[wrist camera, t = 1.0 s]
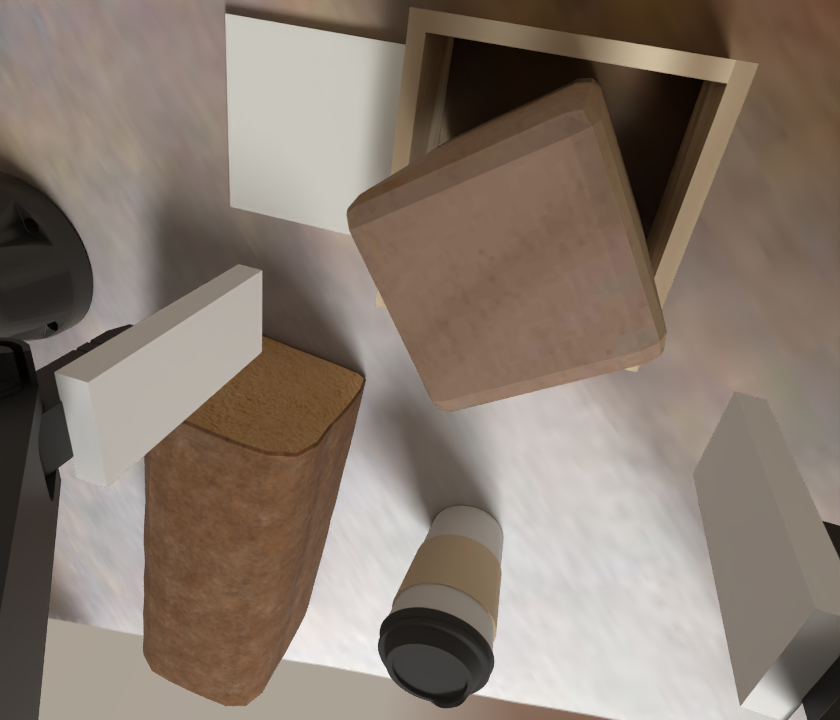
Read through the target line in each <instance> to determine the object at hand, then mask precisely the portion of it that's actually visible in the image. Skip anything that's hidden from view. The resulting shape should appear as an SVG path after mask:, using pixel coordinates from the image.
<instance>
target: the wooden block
mask: <svg viewBox="0 0 840 720" xmlns="http://www.w3.org/2000/svg"><path fill="white" fill-rule="evenodd" d="M346 215H347V221H348V227H349V231H350V233H351V235H352V237H353V239H354V241H355V243H356V245H357V248H358V250H359V252H360V254H361V256H362V258H363V260H364V262H365V264H366V266H367V268H368V270H369V272H370V274H371V276H372V278H373V280H374V282H375V285H376V287H377V289H378V291H379V293H380V295H381V297H382V299H383V301H384V303H385V305H386V307H387V309H388V311H389V313H390V315H391V317H392V320H393V322H394V324H395V326H396V328H397V330H398V332H399V334H400V336H401V338H402V340H403V342H404V344H405V346H406V348H407V350H408V352H409V354H410V357H411V359H412V361H413V363H414V365H415V367H416V369H417V371H418V373H419V375H420V377H421V379H422V381H423V383H424V385H425V387H426V389H427V392H428V394H429V396H430V398H431V400H432V402H433V403H434V404H435V405H436V406H437V407H438V408H439V409H440V410H445V411H456V410H460V409H464V408H468V407H473V406H477V405H481V404H485V403H489V402H493V401H497V400H501V399H505V398H509V397H513V396H517V395H521V394H525V393H529V392H533V391H537V390H541V389H546V388H550V387H554V386H558V385H562V384H566V383H570V382H574V381H578V380H582V379H586V378H590V377H594V376H598V375H602V374H606V373H610V372H614V371H619V370H623V369H627V368H631V367H635V366H639V365H643V364H646V363H648V362H650V361H651V360H653V359H655V358H657V357H658V356H660V355H661V354H662V352H663V351H664V345H665V340H666V334H667V331H666V327H665V322H664V318H663V314H662V309H661V305H660V301H659V296H658V292H657V288H656V283H655V279H654V275H653V270H652V266H651V262H650V257H649V253H648V249H647V244H646V240H645V236H644V231H643V227H642V223H641V218H640V214H639V211H638V207H637V204H636V201H635V197H634V194H633V191H632V188H631V184H630V181H629V178H628V174H627V171H626V168H625V164H624V161H623V158H622V154H621V151H620V148H619V144H618V141H617V138H616V135H615V131H614V128H613V125H612V121H611V118H610V115H609V111H608V108H607V105H606V101H605V98H604V95H603V92H602V88H601V87H600V86H599V84H598V83H597V82H596V81H595V80H594V79H593V78H579V79H577V80H574V81H572V82H570V83H568V84H566V85H564V86H562V87H559V88H557V89H555V90H553V91H551V92H549V93H547V94H544V95H542V96H540V97H538V98H536V99H534V100H532V101H529V102H527V103H525V104H523V105H521V106H519V107H517V108H514V109H512V110H510V111H508V112H506V113H504V114H502V115H499V116H497V117H495V118H493V119H491V120H489V121H487V122H484V123H482V124H480V125H478V126H476V127H474V128H472V129H469V130H467V131H465V132H463V133H461V134H459V135H457V136H455V137H454V138H452V139H450V140H449V141H447V142H445V143H444V144H442V145H440V146H439V147H437V148H435V149H434V150H432V151H430V152H429V153H427V154H426V155H424V156H422V157H421V158H419V159H417V160H416V161H414V162H412V163H411V164H409V165H407V166H406V167H404V168H402V169H401V170H399V171H398V172H396V173H394V174H393V175H391V176H389V177H388V178H386V179H384V180H383V181H381V182H379V183H378V184H376V185H374V186H373V187H371V188H369V189H368V190H366V191H365V192H363V193H361V194H360V195H359V196H358V197H357V198H356V199H355V200H354V202H353V203H352V204H351V205H350V206H349V207H348V209H347V213H346Z"/></svg>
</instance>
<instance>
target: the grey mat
mask: <svg viewBox="0 0 840 720" xmlns="http://www.w3.org/2000/svg"><path fill="white" fill-rule="evenodd" d="M225 23H226V62H227V101H228V141H229V180H230V207H234V208H238V209H242V210H246V211H251V212H255V213H259V214H263V215H268V216H272V217H276V218H280V219H285V220H289V221H293V222H297V223H301V224H306V225H310V226H314V227H318V228H323V229H327V230H331V231H335V232H340V233H344V234H348V235H351V233H350V231H349V227H348V221H347V215H346V213H347V209H348V207H349V206H350V205H351V204H352V203H353V202H354V200H355V199H356V198H357V197H358V196H359V195H360V194H361V193H363V192H365V191H366V190H368V189H369V188H371V187H373V186H374V185H376V184H378V183H379V182H381V181H383V180H384V179H386V178H388V177H389V176H391V167H392V158H393V150H394V141H395V132H396V123H397V115H398V106H399V97H400V88H401V80H402V71H403V62H404V53H405V45H404V44H399V43H393V42H387V41H382V40H376V39H370V38H364V37H359V36H353V35H347V34H342V33H336V32H330V31H324V30H319V29H313V28H307V27H302V26H296V25H290V24H285V23H279V22H273V21H267V20H262V19H256V18H250V17H245V16H239V15H233V14H225Z"/></svg>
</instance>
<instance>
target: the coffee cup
mask: <svg viewBox="0 0 840 720" xmlns="http://www.w3.org/2000/svg"><path fill="white" fill-rule="evenodd" d="M502 549H503V532H502V529H501V527H500V525H499V524H498V522H497V521H496V520H495V519H494V518H493V517H492V516H491V515H489V514H488V513H486V512H484V511H482V510H480V509H478V508H475V507H471V506H452V507H449V508H446V509H444V510H442V511H441V512H440V513H439V514H438V515H437V516H436V517H435V519H434V521H433V524H432V526H431V528H430V530H429V532H428V534H427V536H426V538H425V540H424V543H423V544H422V545H421V546H420V548H419V549H418V551H417V553H416V555H415V558H414V560H413V562H412V564H411V566H410V568H409V570H408V572H407V574H406V576H405V578H404V580H403V582H402V584H401V586H400V588H399V590H398V592H397V594H396V596H395V598H394V601H393V605H392V610H391V612H390V614H389V616H388V617H387V618H386V619H385V620H384V621H383V623H382V625H381V628H380V638H379V642H378V651H379V655H380V657H381V660H382V662H383V664H384V665H385V667H386V668H387V671H388V673H389V675H390V677H391V678H392V679H393V681H394V682H395V683H396V684H398V686H400V687H401V688H402V689H404V690H405V691H407V692H408V693H410V694H412V695H414V696H416V697H419V698H421V699H424V700H428V701H431V702H432V703H434V704H435V705H436V706H438V707H441V708H452V707H457V706H459V705H461V704H462V703H463V702H464V701H465V700H466V698H467V697H468V696H469V695H470V694H473V693H475V692H477V691H478V690H480V689H481V688H483V687H484V686H485V685H486V683H487V682H488V680H489V677H490V674H491V672H492V670H493V667H494V655H493V652H492V650H493V642H494V640H495V637H496V628H497V617H498V606H499V595H500V584H501V559H502Z"/></svg>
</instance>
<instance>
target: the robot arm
mask: <svg viewBox="0 0 840 720" xmlns="http://www.w3.org/2000/svg"><path fill="white" fill-rule="evenodd" d="M92 294H93V280H92V273H91V268H90V264H89V261H88V258H87V255H86V252H85V250H84V248H83V245H82V243H81V241H80V239H79V238H78V236H77V234H76V232H75V231H74V229H73V228H72V226H71V225H70V223H69V222H68V220H67V219H66V218H65V217H64V215H63V214H62V213H61V212H60V211H59V209H58V208H57V207H56V206H55V205H54V204H53V203H52V202H51V201H50V200H49V199H47V198H46V197H45V196H44V195H43V194H42V193H40V192H39V191H38V190H36V189H35V188H33V187H32V186H30V185H29V184H27V183H25V182H23V181H21V180H19V179H17V178H15V177H12V176H9V175H6V174H2V173H0V720H38V716H39V706H40V696H41V685H42V675H43V664H44V654H45V653H44V652H45V643H46V633H47V622H48V612H49V602H50V591H51V581H52V570H53V560H54V549H55V539H56V528H57V518H58V507H59V497H60V486H61V478H60V473H59V469H58V468H59V467H60V466H62V465H63V464H64V463H65V462H67V461H68V460H69V459H71V458H73V462H74V467H75V472H76V476H77V478H78V479H81V480H84V481H87V482H90V483H93V484H95V485H98V486H101V487H104V488H108V487H109V486H110V485H111V484H113V483H114V482H115V481H116V480H117V479H118V478H119V477H121V476H122V475H123V474H124V473H125V472H126V471H127V470H128V469H130V468H131V467H132V466H133V465H134V464H135V463H136V462H138V461H139V460H140V459H141V458H142V457H143V456H144V455H146V454H147V453H148V452H149V451H150V450H151V449H152V448H153V447H155V446H156V445H157V444H158V443H159V442H160V441H161V440H163V439H164V438H165V437H166V436H167V435H168V434H169V433H170V432H172V431H173V430H174V429H175V428H176V427H177V426H178V425H180V424H181V423H182V422H183V421H184V420H185V419H186V418H188V417H189V416H190V415H191V414H192V413H193V412H194V411H195V410H197V409H198V408H199V407H200V406H201V405H202V404H203V403H205V402H206V401H207V400H208V399H209V398H210V397H211V396H212V395H214V394H215V393H216V392H217V391H218V390H219V389H220V388H222V387H223V386H224V385H225V384H226V383H227V382H228V381H230V380H231V379H232V378H233V377H234V376H235V375H236V374H237V373H239V372H240V371H241V370H242V369H243V368H244V367H245V366H247V365H248V364H249V363H250V362H251V361H252V360H253V359H254V358H256V357H257V356H258V355H259V354H260V353H261V352H262V270H259V269H256V268H252V267H248V266H244V265H240V264H238V265H236V266H235V267H233V268H231V269H229V270H228V271H226V272H224V273H223V274H221V275H219V276H218V277H216V278H214V279H212V280H211V281H209V282H207V283H206V284H204V285H202V286H200V287H199V288H197V289H195V290H194V291H192V292H190V293H189V294H187V295H185V296H183V297H182V298H180V299H178V300H177V301H175V302H173V303H171V304H170V305H168V306H166V307H165V308H163V309H161V310H160V311H158V312H156V313H154V314H153V315H151V316H149V317H148V318H146V319H144V320H142V321H141V322H139V323H137V324H136V325H130V324H129V325H126V326H122V327H119V328H115V329H112V330H108V331H106V332H105V333H103V334H101V335H99V336H97V337H96V338H94V339H92V340H91V342H90V343H88V342H87V343H85V344H83V345H82V346H80V347H78V348H77V350H76V351H75V350H73V351H71V352H69V353H67V354H66V355H64V356H62V357H60V358H59V359H57V360H55V361H53V362H52V363H50V364H48V365H46V366H44V367H43V368H41V369H39V370H37V371H35V366H34V362H33V358H32V353H31V349H30V346H29V344H27V343H26V342H24V341H31V340H38V339H45V338H49V337H52V336H55V335H57V334H59V333H61V332H63V331H65V330H67V329H69V328H71V327H72V326H74V325H76V324H77V323H79V322H80V321H81V320H82V319H83V318H84V316H85V315H86V313H87V312H88V310H89V307H90V304H91V301H92ZM693 476H694V481H695V486H696V491H697V496H698V501H699V506H700V511H701V516H702V521H703V526H704V531H705V536H706V540H707V545H708V550H709V555H710V560H711V565H712V570H713V575H714V580H715V585H716V590H717V595H718V600H719V604H720V609H721V614H722V619H723V624H724V629H725V634H726V639H727V644H728V649H729V654H730V659H731V664H732V669H733V673H734V678H735V683H736V688H737V693H738V698H739V703H740V707H743V708H746V709H749V710H752V711H755V712H758V713H761V714H764V715H766V716H769V717H772V718H775V719H778V720H788V719H789V718H790V717H791V715H792V714H793V713H794V712H795V711H796V710H797V709H798V707H799V706H800V705H801V704H802V703H803V706H804V710H805V713H806V716H807V720H840V526H838V525H835V524H831V523H828V522H824V521H822V519H821V517H820V515H819V513H818V511H817V509H816V506H815V504H814V502H813V500H812V498H811V495H810V493H809V491H808V489H807V487H806V484H805V482H804V480H803V478H802V476H801V473H800V471H799V469H798V467H797V465H796V463H795V460H794V458H793V456H792V454H791V452H790V449H789V447H788V445H787V443H786V441H785V438H784V436H783V434H782V432H781V430H780V427H779V425H778V423H777V421H776V419H775V416H774V414H773V412H772V410H771V408H770V406H769V403H768V401H767V400H766V399H762V398H758V397H754V396H751V395H747V394H743V393H739V392H734V394H733V396H732V398H731V400H730V402H729V404H728V406H727V408H726V410H725V412H724V414H723V416H722V418H721V420H720V422H719V423H718V425H717V427H716V429H715V431H714V433H713V435H712V437H711V439H710V441H709V443H708V445H707V447H706V449H705V451H704V453H703V455H702V457H701V459H700V461H699V463H698V465H697V467H696V469H695V471H694V473H693Z"/></svg>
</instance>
